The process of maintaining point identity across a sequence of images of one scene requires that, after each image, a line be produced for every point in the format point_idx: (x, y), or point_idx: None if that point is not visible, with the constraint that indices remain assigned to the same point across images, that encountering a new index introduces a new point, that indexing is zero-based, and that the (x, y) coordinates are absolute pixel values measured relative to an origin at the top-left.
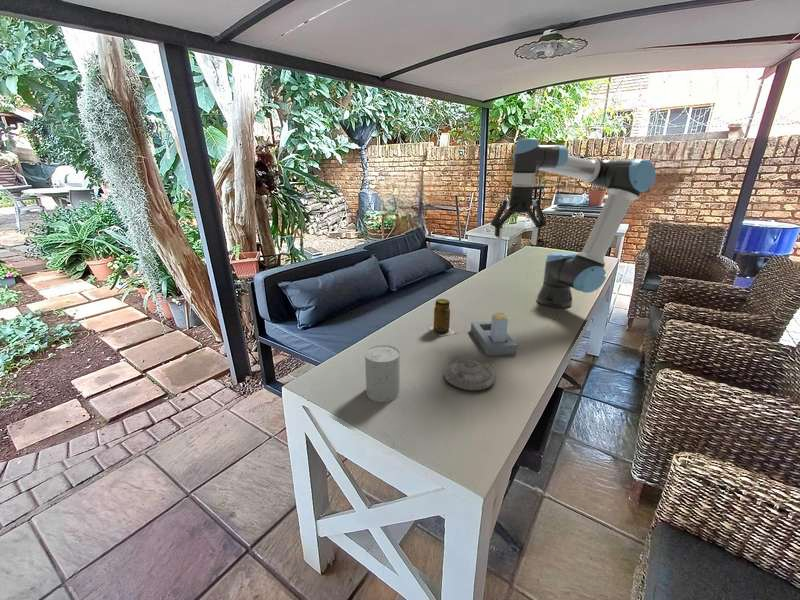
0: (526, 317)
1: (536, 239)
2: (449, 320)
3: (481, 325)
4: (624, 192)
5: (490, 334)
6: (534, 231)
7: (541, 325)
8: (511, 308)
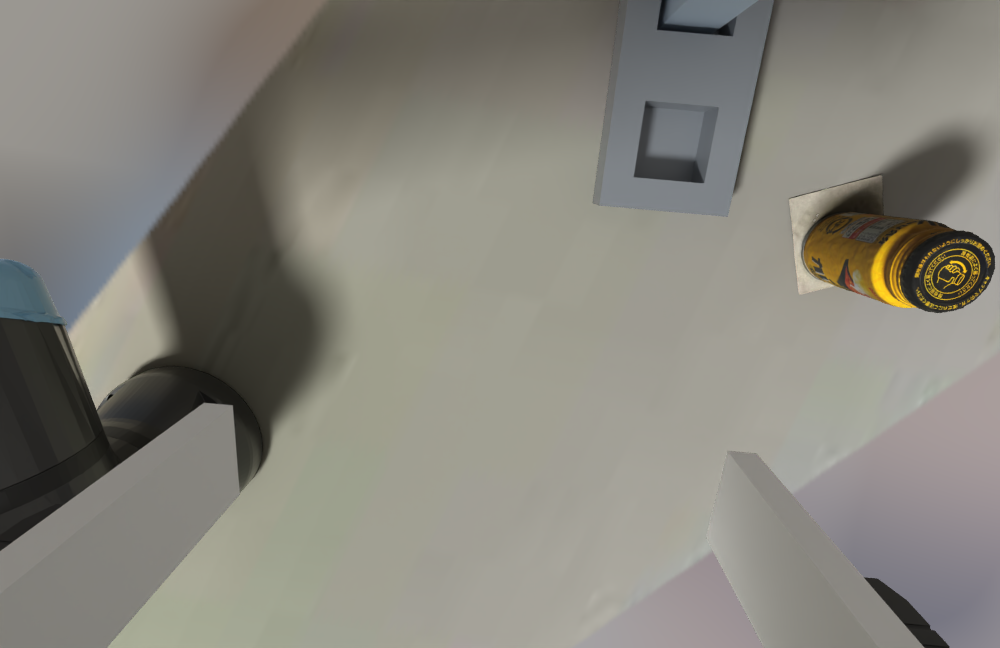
0: (392, 300)
1: (148, 447)
2: (838, 237)
3: (688, 182)
4: None
5: (730, 19)
6: (77, 591)
7: (365, 202)
8: (414, 406)
